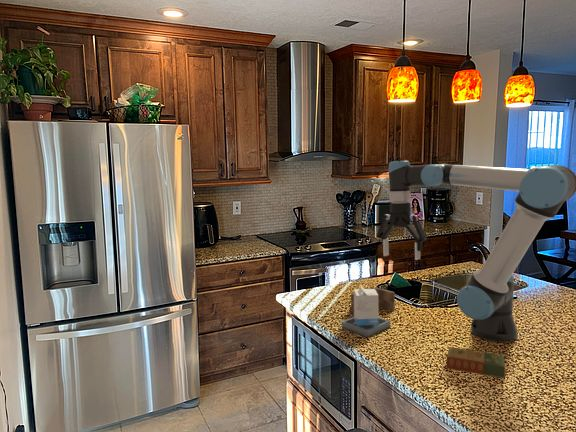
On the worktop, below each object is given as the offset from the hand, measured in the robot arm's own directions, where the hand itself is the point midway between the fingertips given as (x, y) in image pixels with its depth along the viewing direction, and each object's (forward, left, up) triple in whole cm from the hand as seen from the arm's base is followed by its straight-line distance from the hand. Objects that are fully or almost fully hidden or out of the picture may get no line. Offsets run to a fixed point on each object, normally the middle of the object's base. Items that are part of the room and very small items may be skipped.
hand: (401, 257), depth 163 cm
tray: (+7, +13, -26) cm, 30 cm away
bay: (+16, -3, -26) cm, 31 cm away
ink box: (+7, +13, -24) cm, 28 cm away
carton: (-36, +14, -27) cm, 47 cm away
